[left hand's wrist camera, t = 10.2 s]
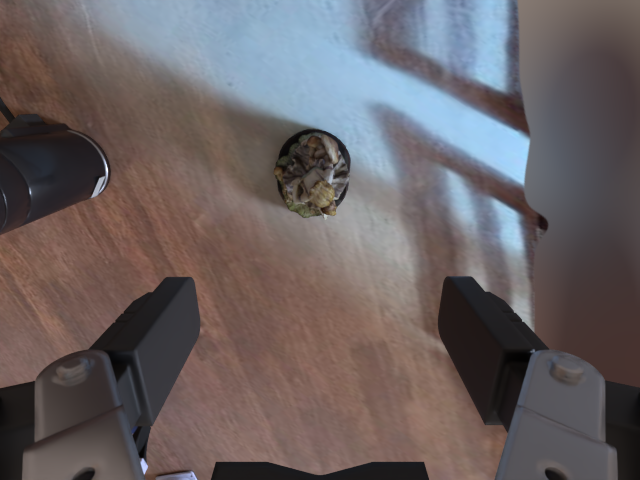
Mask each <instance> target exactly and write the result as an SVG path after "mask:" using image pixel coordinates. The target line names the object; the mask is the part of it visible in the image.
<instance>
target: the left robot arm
mask: <svg viewBox="0 0 640 480" xmlns="http://www.w3.org/2000/svg"><path fill="white" fill-rule="evenodd" d="M0 111H1V112H2V113H3V115H4V116H5V117H6V119H7V120H8V121H9V123H10V124H9V125H7V126H6V127H5V128H4V129H3V130H1V131H0V235H2V234H4V233H7V232H9V231H11V230H14V229H16V228H19V227H21V226H23V225H26V224H28V223H31V222H33V221H35V220H38V219H40V218H43V217H45V216H47V215H50V214H52V213H55V212H57V211H60V210H62V209H64V208H67V207H69V206H72V205H74V204H76V203H79V202H81V201H84V200H87V199H90V198H93V197H95V196H97V195H99V194H100V193H102V192H103V191H104V190H105V189H106V187H107V185H108V183H109V180H110V165H109V161H108V159H107V156H106V154H105V153H104V151H103V150H102V148H101V147H100V146H99V145H98V144H97V143H96V142H95V141H94V140H93V139H92V138H90V137H89V136H87V135H85V134H83V133H81V132H78V131H75V130H71V129H70V128H69V127H68V126H67V125H66V124H52V125H47V124H46V123H45V122H44V121H43V120H42V119H41V118H40V117H39V116H38V115H37V114H26V115H18V116H17V117H16V118H15V117H14V116H13V115H12V113H11V112H10V111H9V109H8V108H7V107H6V105H5V104H4V102H3V101H2V99H1V98H0ZM115 321H116V322H115V323H113V324H112V325H111V326H110V327H109V328H108V329H107V330H106V331H105V332H104V333H103V334H102V335H101V336H100V338H99V339H98V340H97V341H96V342H95V343H94V344H93V345H92V346H91V347H90V348H89V349H88V350H83V351H78V352H75V353H71V354H69V355H66V356H64V357H62V358H60V359H58V360H56V361H54V362H53V363H51V364H50V365H48V366H47V367H46V368H45V369H43V370H42V372H41V373H40V374H39V375H38V376H37V378H36V380H35V381H33V382H28V383H23V384H18V385H14V386H9V387H4V388H0V480H145V476H144V473H143V469H142V466H141V463H140V459H139V456H138V452H137V449H136V445H135V442H134V439H133V435H132V432H131V431H132V429H133V427H134V426H153V424H154V422H155V420H156V418H157V416H158V414H159V412H160V410H161V408H162V406H163V404H164V402H165V400H166V399H167V397H168V395H169V393H170V391H171V389H172V387H173V385H174V383H175V381H176V379H177V377H178V375H179V373H180V371H181V370H182V368H183V366H184V364H185V362H186V360H187V358H188V356H189V354H190V352H191V350H192V348H193V346H194V344H195V343H196V341H197V338H198V336H199V331H200V315H199V308H198V302H197V295H196V288H195V283H194V280H193V278H192V277H166V278H165V279H164V280H163V281H162V282H161V283H160V284H159V286H158V287H157V288H156V289H155V290H154V291H153V292H148V293H147V294H145V295H143V296H142V297H140V298H138V299H136V300H135V301H133V302H132V303H131V304H130V305H129V307H128V308H127V309H126V310H125V311H124V314H121V315H120V316H119V317H118V318H117V319H116V320H115ZM438 330H439V334H440V337H441V340H442V342H443V344H444V345H445V347H446V349H447V351H448V353H449V355H450V357H451V359H452V361H453V363H454V365H455V367H456V369H457V371H458V373H459V375H460V377H461V379H462V381H463V383H464V385H465V387H466V388H467V390H468V392H469V394H470V396H471V398H472V400H473V402H474V404H475V406H476V408H477V410H478V412H479V414H480V416H481V418H482V420H483V422H484V424H485V425H503V426H504V427H505V429H506V431H507V433H508V435H507V439H506V442H505V445H504V449H503V452H502V456H501V459H500V463H499V466H498V469H497V473H496V476H495V480H640V388H638V387H633V386H629V385H624V384H619V383H615V382H610V381H605V380H604V378H603V376H602V375H601V374H600V373H599V372H598V371H597V369H595V368H594V367H593V366H592V365H590V364H589V363H587V362H586V361H584V360H582V359H580V358H578V357H576V356H574V355H571V354H569V353H565V352H562V351H557V350H550V349H549V348H548V347H547V346H546V345H545V344H544V343H543V342H542V341H541V340H540V339H539V338H538V336H537V335H536V334H535V333H534V332H533V331H532V330H531V329H530V328H529V327H528V326H527V325H526V324H525V322H522V319H521V318H520V317H519V316H518V315H517V314H516V313H514V311H513V309H512V308H511V307H510V306H509V305H508V304H507V303H506V302H505V301H504V300H502V299H501V298H499V297H497V296H496V295H494V294H492V293H491V292H485V291H484V290H483V289H482V288H481V286H480V285H479V284H478V283H477V282H476V281H475V279H474V278H473V277H470V276H447V277H446V278H445V280H444V283H443V289H442V295H441V302H440V309H439V316H438ZM211 480H429V478H428V474H427V471H426V467H425V464H424V462H371V463H367V464H363V465H360V466H356V467H352V468H348V469H345V470H341V471H337V472H333V473H330V474H326V475H314V474H310V473H307V472H303V471H299V470H295V469H292V468H288V467H284V466H280V465H277V464H273V463H269V462H216V464H215V467H214V471H213V474H212V478H211Z"/></svg>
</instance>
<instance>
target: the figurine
mask: <svg viewBox="0 0 640 480" xmlns="http://www.w3.org/2000/svg"><path fill="white" fill-rule="evenodd" d="M349 174H350V156H349V153H348V151H347V149H346V146H345V145H344V144H343V143H342V142H341V141H340V140H339V139H338V138H337V137H335V136H334V135H332V134H330V133H328V132H326V131H322V130H316V129H308V130H304V131H301V132H299V133H297V134H295V135H294V136H292V137H291V138H289V139H288V140H287V141H286V143H285V144H284V145H283V147H282V149H281V151H280V154H279V159H278V161H277V162H276V168H275V169H274V175H275V176H276V179H277V183H278V190H279V193H280V195H281V197H282V199H283V200H284V202H285V203H286V204H287V206H288V209H289V210H290V211H294V212H296V213H298V214H299V215H301V216H302V217H303V218H309V217H310V216H320V215H322V216H323V218H324V220H326V219H327V215H332V216H334V215H336V208H337V206H338V205H339V204H340V203H341V202H342V200H343V199H344V197H345V195H346V192H347V190H348V181H349Z"/></svg>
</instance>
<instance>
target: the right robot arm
mask: <svg viewBox="0 0 640 480" xmlns="http://www.w3.org/2000/svg"><path fill="white" fill-rule="evenodd" d="M150 429H151V427H150V426H138V427H137V429H136V430H135V432H134V434H133V439H134V442H135V445H136V449H137V452H138V456H139V459H140V463H141V466H142V469H143V473H144V474H145V472H146V470H147V468H148V466H147V462H146V450H147V442H148V437H149V433H150ZM156 480H197V479H196V477H195V475H194V473H193V472H192V471H188V472H182V473H176V474H169V475H163V476H157V477H156Z"/></svg>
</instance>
